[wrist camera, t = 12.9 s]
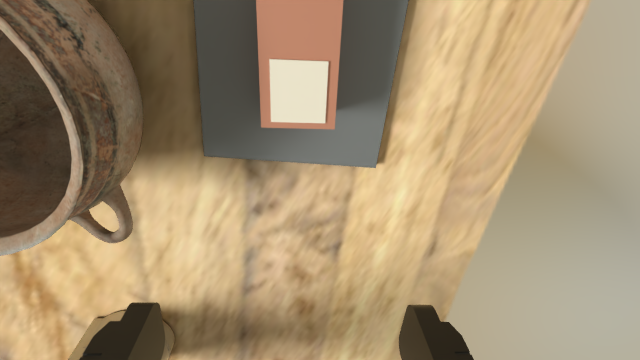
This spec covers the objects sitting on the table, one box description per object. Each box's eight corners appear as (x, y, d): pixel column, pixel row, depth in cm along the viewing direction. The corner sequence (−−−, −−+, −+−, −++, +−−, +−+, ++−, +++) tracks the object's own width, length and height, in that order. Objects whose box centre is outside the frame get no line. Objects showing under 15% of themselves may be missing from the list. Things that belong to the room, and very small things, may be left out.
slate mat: (206, 152, 32) (204, 156, 31) (188, -126, 22) (184, -130, 22) (374, 164, 33) (375, 167, 32) (423, -94, 24) (427, -96, 23)
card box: (262, -26, 25) (254, -31, 20) (338, -22, 25) (345, -26, 21) (266, 109, 29) (260, 128, 25) (330, 111, 30) (334, 130, 26)
